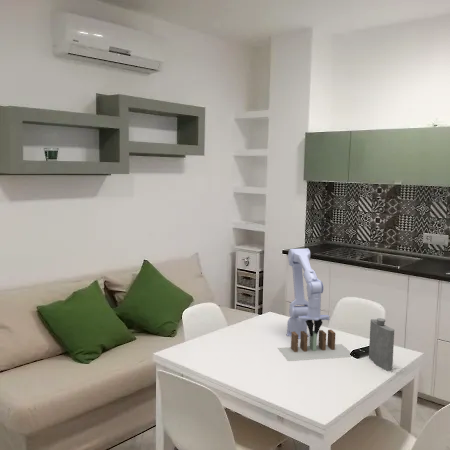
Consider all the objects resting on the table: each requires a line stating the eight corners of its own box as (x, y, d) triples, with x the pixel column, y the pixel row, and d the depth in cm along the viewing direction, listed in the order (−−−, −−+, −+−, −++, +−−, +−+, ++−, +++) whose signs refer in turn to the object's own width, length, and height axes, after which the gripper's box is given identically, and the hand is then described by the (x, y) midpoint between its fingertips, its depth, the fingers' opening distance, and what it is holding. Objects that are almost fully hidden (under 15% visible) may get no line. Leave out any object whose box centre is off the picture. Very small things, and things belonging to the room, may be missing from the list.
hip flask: (393, 370, 214) (396, 324, 211) (385, 371, 213) (387, 325, 210) (373, 356, 229) (375, 313, 227) (365, 357, 228) (367, 314, 226)
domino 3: (322, 350, 235) (323, 333, 234) (318, 346, 240) (318, 330, 239) (325, 350, 235) (326, 333, 234) (321, 346, 240) (322, 330, 239)
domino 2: (303, 351, 233) (304, 334, 232) (300, 347, 238) (300, 331, 237) (307, 351, 234) (307, 334, 233) (303, 347, 238) (303, 331, 237)
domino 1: (294, 352, 232) (294, 335, 231) (290, 348, 237) (291, 331, 236) (297, 352, 233) (298, 335, 232) (294, 348, 238) (294, 331, 237)
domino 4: (331, 349, 236) (332, 333, 235) (327, 346, 241) (327, 329, 240) (334, 349, 236) (335, 333, 235) (330, 345, 241) (331, 329, 240)
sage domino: (313, 351, 234) (313, 334, 233) (309, 347, 239) (309, 330, 238) (316, 350, 235) (316, 334, 234) (312, 346, 239) (313, 330, 238)
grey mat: (288, 361, 222) (288, 361, 222) (277, 348, 238) (277, 348, 238) (356, 357, 228) (356, 356, 228) (341, 344, 244) (341, 344, 244)
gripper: (302, 310, 229) (301, 339, 231) (332, 308, 232) (331, 337, 233) (297, 305, 236) (296, 334, 237) (326, 304, 239) (325, 332, 240)
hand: (313, 335), depth 236 cm, fingers closed on sage domino, 2 cm apart
